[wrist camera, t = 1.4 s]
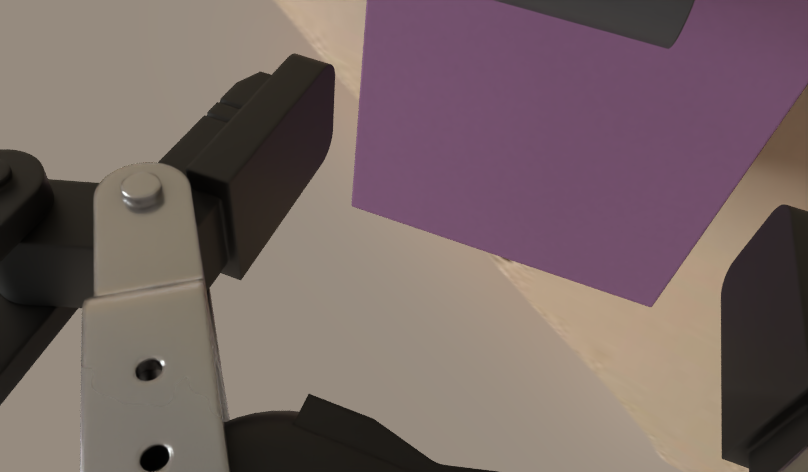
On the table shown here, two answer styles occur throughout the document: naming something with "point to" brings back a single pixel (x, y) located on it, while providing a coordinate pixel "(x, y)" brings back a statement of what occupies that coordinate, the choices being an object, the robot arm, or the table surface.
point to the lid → (572, 124)
